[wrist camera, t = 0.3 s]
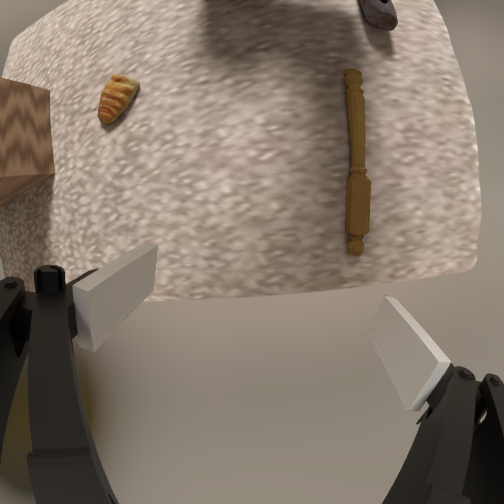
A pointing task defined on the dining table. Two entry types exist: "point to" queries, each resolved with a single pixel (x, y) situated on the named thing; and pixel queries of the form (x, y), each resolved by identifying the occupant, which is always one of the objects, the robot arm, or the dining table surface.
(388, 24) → the perforated stone tool
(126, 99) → the pastry
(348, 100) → the wooden spindle
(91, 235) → the dining table surface
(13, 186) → the brown wavy patterned box
